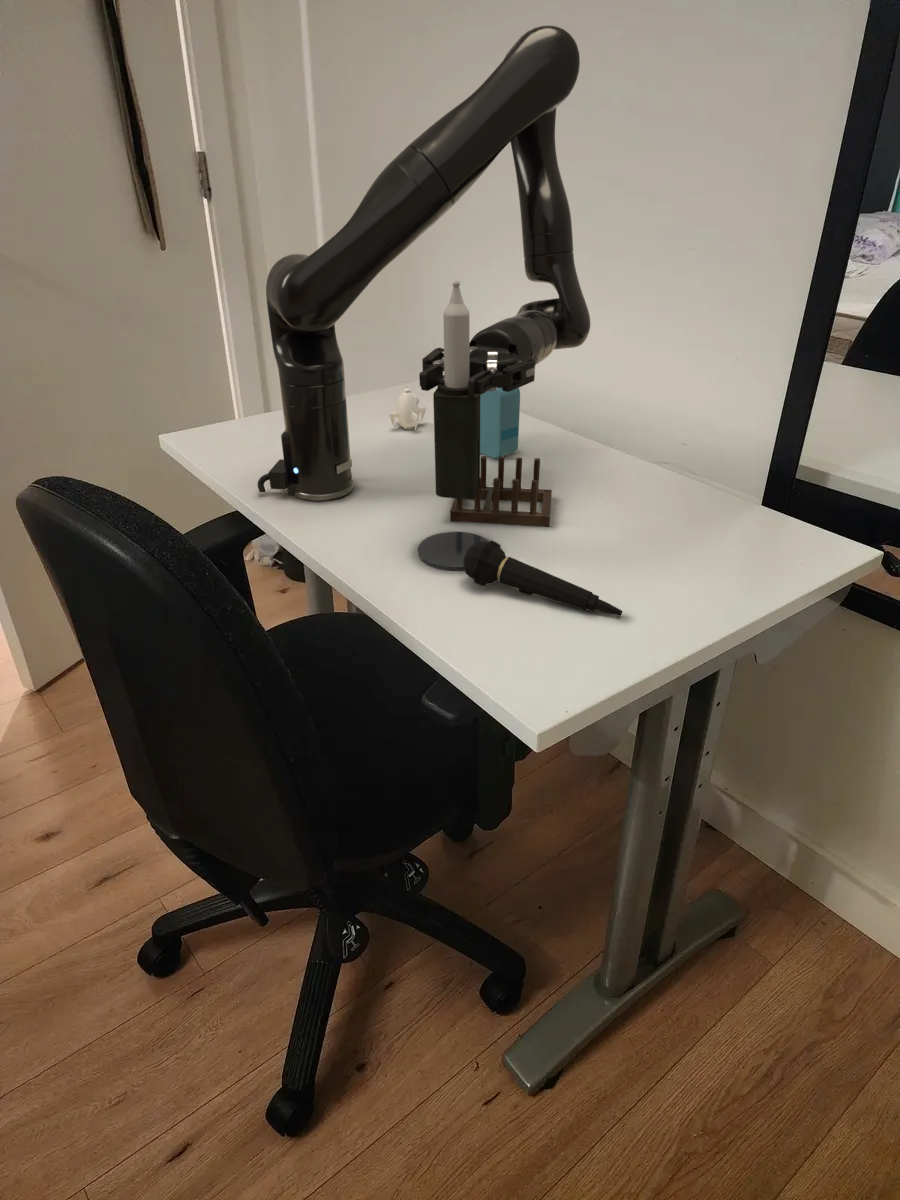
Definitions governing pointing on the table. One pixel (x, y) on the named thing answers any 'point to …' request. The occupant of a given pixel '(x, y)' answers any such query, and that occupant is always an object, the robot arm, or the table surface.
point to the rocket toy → (408, 410)
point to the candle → (456, 410)
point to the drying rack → (503, 493)
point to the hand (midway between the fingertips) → (447, 385)
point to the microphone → (527, 578)
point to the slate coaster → (447, 549)
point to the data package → (499, 422)
